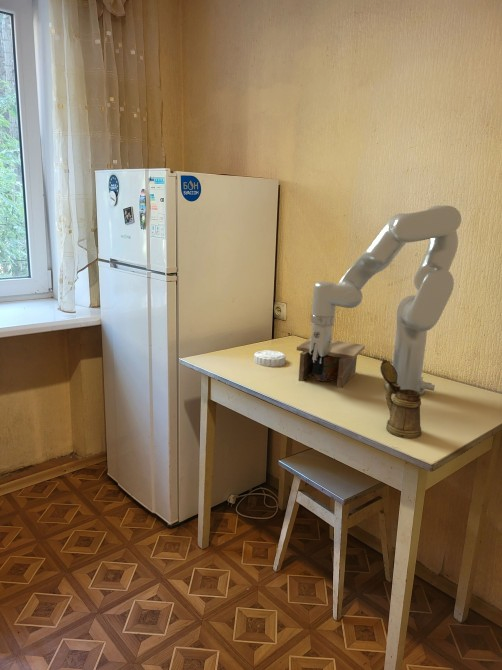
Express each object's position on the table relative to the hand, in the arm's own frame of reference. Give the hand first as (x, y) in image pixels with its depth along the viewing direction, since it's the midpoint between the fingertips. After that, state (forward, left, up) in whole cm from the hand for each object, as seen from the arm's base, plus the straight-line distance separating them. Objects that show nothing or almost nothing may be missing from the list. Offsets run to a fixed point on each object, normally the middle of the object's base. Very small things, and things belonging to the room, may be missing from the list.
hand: (317, 373), depth 170 cm
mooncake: (+24, -16, -5) cm, 29 cm away
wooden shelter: (-1, -11, -4) cm, 12 cm away
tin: (-2, -9, -4) cm, 10 cm away
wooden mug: (-30, +22, -4) cm, 38 cm away
